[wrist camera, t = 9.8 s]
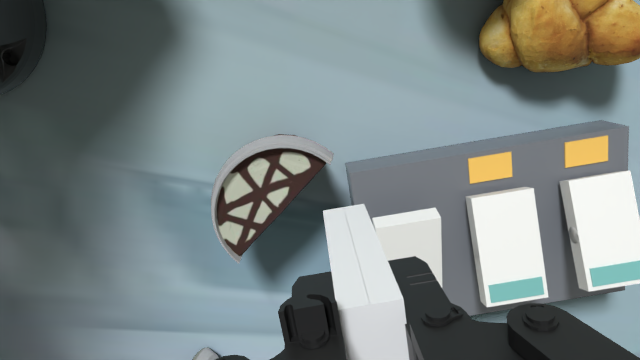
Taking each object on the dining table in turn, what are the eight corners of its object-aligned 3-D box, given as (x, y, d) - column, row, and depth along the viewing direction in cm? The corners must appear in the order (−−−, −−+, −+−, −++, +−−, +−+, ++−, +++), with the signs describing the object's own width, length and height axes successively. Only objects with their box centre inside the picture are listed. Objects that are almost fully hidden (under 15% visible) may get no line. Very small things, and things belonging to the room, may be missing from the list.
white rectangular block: (559, 181, 43) (569, 180, 41) (618, 171, 43) (631, 170, 41) (579, 287, 42) (590, 292, 41) (638, 277, 42) (652, 281, 41)
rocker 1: (372, 217, 40) (375, 229, 39) (435, 207, 40) (441, 218, 39) (381, 301, 45) (384, 314, 44) (437, 291, 45) (443, 304, 43)
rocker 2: (465, 196, 42) (471, 198, 41) (525, 186, 42) (534, 188, 41) (480, 301, 43) (487, 307, 41) (539, 291, 43) (549, 297, 41)
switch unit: (345, 163, 46) (351, 177, 41) (601, 120, 46) (640, 129, 41) (367, 310, 51) (375, 340, 45) (600, 271, 51) (635, 297, 45)
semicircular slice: (280, 94, 44) (275, 106, 34) (328, 136, 45) (335, 159, 36) (200, 186, 46) (174, 222, 37) (248, 224, 48) (234, 268, 38)
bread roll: (475, 84, 45) (512, 91, 37) (465, -22, 42) (501, -39, 34) (606, 57, 44) (670, 58, 37) (604, -51, 42) (672, -74, 34)
